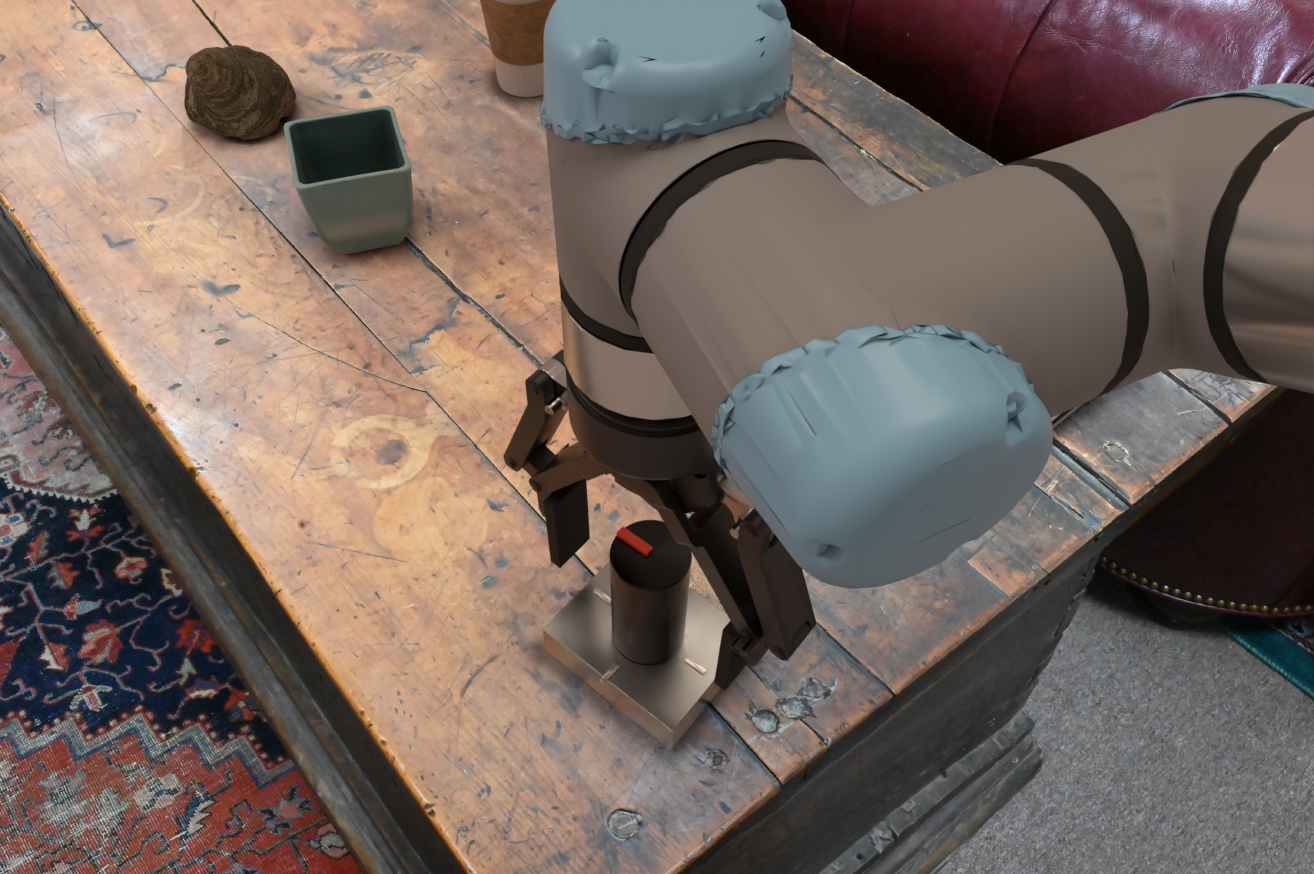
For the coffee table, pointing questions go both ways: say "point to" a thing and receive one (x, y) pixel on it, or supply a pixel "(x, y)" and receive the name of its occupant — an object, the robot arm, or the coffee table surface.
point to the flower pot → (353, 177)
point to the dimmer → (648, 591)
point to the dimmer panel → (640, 691)
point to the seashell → (237, 92)
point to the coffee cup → (518, 43)
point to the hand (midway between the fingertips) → (649, 607)
